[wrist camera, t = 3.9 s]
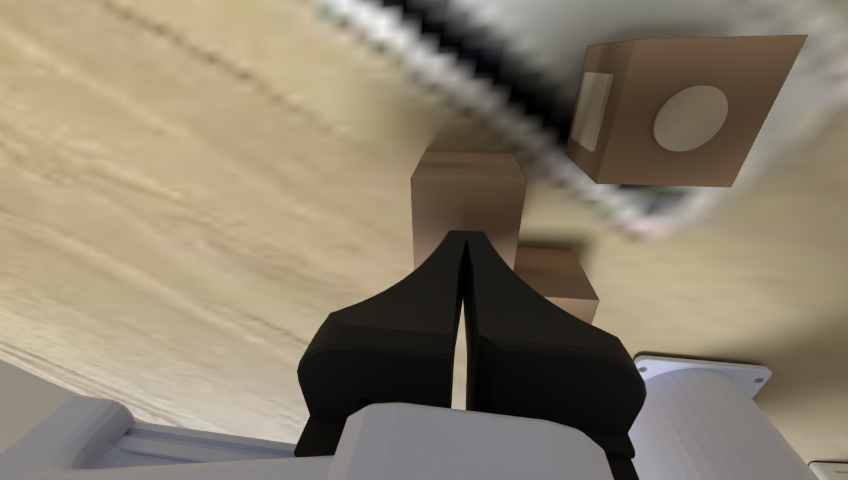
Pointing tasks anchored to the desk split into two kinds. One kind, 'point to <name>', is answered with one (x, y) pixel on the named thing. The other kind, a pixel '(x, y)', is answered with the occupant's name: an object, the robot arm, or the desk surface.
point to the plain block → (467, 200)
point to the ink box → (830, 470)
